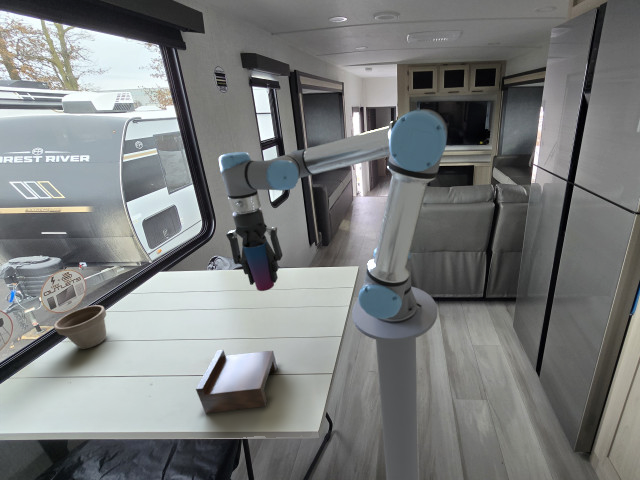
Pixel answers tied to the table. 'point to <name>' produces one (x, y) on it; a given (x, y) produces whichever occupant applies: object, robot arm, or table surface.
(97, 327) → the flower pot
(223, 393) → the brown stepped block
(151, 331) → the table surface
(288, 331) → the table surface
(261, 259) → the cup
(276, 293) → the table surface
